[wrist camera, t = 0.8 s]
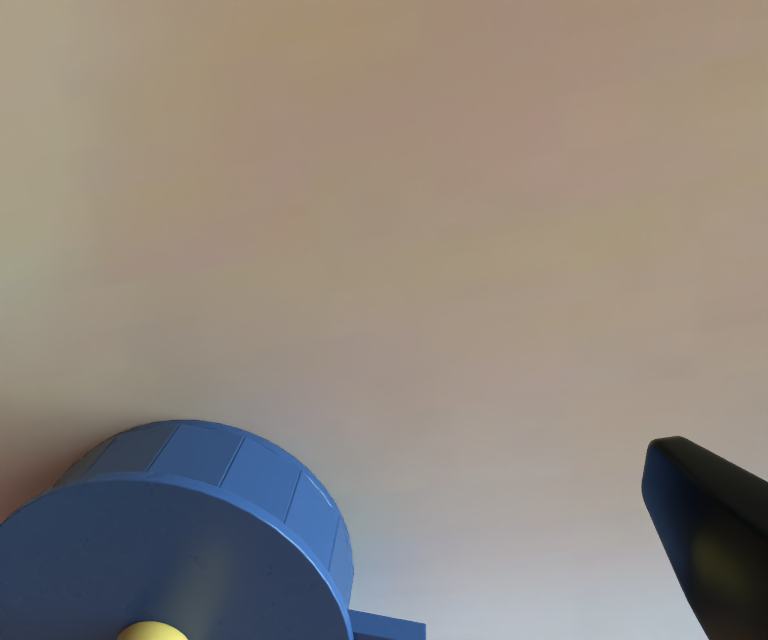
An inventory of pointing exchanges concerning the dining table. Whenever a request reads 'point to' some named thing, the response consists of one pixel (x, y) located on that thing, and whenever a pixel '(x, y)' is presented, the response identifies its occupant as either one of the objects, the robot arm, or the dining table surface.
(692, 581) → the robot arm
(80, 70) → the dining table surface
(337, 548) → the pot
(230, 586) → the pot lid
